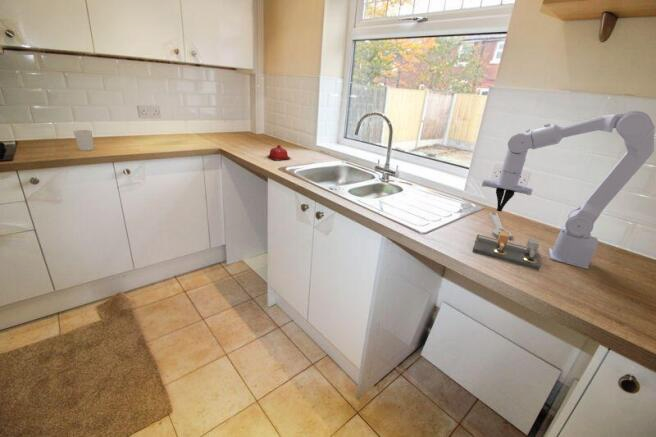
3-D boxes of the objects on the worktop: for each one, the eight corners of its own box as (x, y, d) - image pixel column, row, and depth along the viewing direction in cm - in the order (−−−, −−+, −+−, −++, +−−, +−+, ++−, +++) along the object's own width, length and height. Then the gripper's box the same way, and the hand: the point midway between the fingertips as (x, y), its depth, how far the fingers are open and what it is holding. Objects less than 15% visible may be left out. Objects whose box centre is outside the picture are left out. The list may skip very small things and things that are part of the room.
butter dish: (281, 156, 199) (282, 142, 196) (291, 160, 191) (292, 146, 188) (265, 157, 192) (265, 143, 189) (275, 161, 184) (275, 147, 181)
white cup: (93, 150, 174) (89, 132, 170) (75, 150, 171) (71, 132, 167) (96, 147, 181) (93, 130, 177) (80, 147, 178) (76, 129, 174)
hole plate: (536, 253, 100) (542, 238, 98) (538, 270, 90) (545, 254, 88) (476, 237, 108) (480, 223, 106) (472, 251, 98) (476, 235, 96)
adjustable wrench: (488, 214, 131) (489, 210, 130) (505, 218, 129) (507, 214, 128) (491, 237, 110) (493, 233, 109) (512, 242, 107) (513, 237, 107)
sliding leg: (505, 242, 102) (509, 232, 100) (504, 252, 96) (508, 241, 94) (497, 240, 103) (500, 230, 101) (495, 249, 97) (499, 238, 95)
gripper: (536, 173, 102) (522, 212, 107) (487, 165, 108) (477, 202, 113) (537, 177, 96) (523, 218, 102) (486, 169, 102) (475, 207, 108)
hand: (499, 210), depth 107 cm, fingers closed
